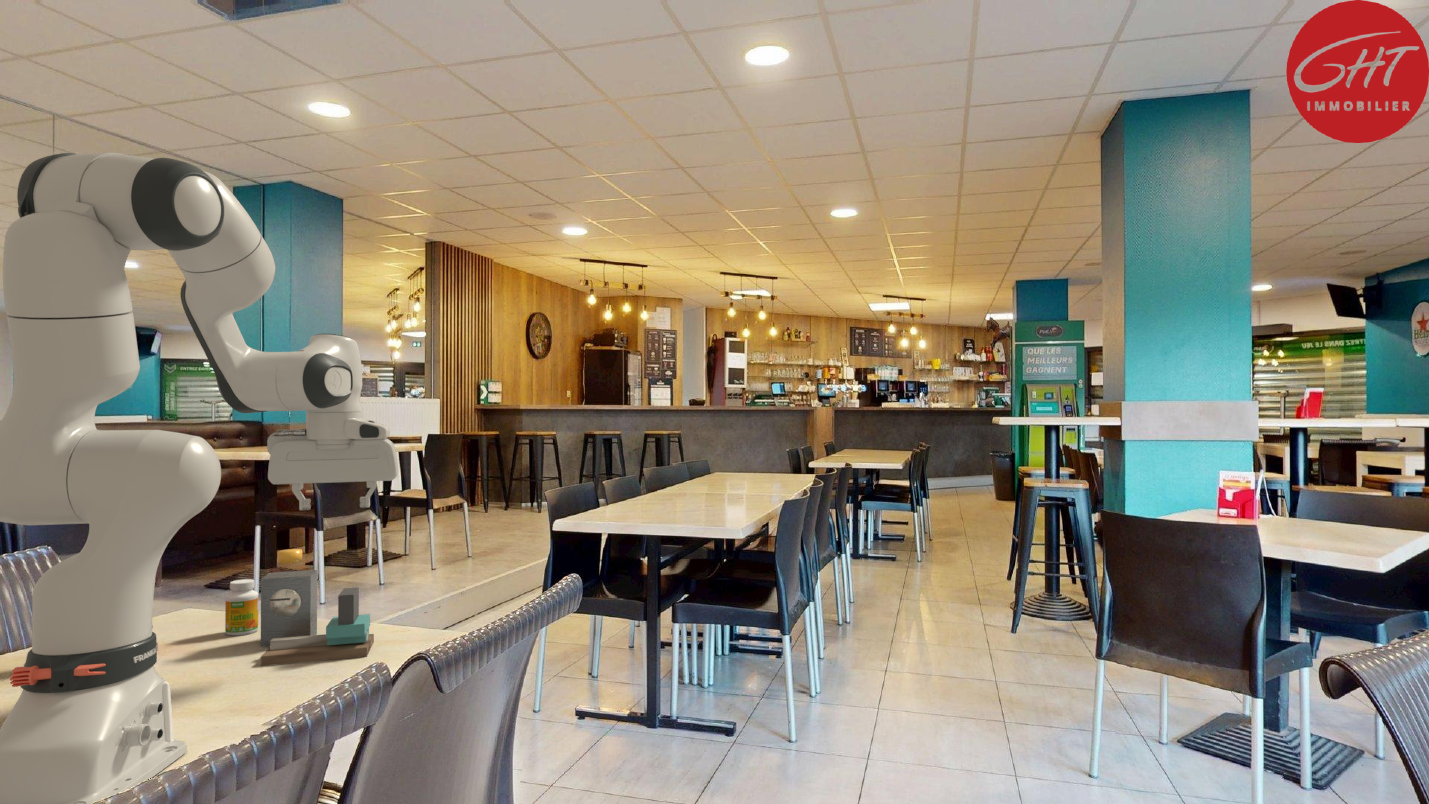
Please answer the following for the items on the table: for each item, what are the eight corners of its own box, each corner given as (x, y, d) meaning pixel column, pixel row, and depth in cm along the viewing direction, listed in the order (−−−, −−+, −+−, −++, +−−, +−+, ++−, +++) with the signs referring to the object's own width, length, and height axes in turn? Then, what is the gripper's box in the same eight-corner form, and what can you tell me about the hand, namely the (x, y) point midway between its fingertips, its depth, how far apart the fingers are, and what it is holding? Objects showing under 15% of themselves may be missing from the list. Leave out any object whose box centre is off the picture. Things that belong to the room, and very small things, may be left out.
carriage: (364, 644, 133) (364, 594, 133) (325, 647, 131) (326, 597, 131) (370, 633, 140) (370, 586, 140) (333, 636, 138) (333, 588, 138)
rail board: (366, 656, 132) (367, 638, 132) (260, 665, 127) (260, 647, 127) (373, 642, 141) (373, 625, 141) (274, 650, 136) (274, 633, 136)
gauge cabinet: (309, 643, 140) (309, 576, 141) (259, 647, 138) (260, 579, 138) (316, 633, 147) (317, 569, 147) (269, 637, 144) (269, 572, 144)
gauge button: (299, 562, 142) (299, 551, 142) (274, 564, 140) (275, 553, 140) (304, 559, 145) (304, 548, 145) (280, 560, 144) (280, 549, 144)
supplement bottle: (226, 638, 144) (226, 585, 145) (224, 631, 149) (224, 580, 149) (259, 633, 148) (260, 581, 148) (256, 627, 152) (256, 577, 152)
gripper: (262, 430, 129) (263, 513, 129) (395, 428, 135) (396, 508, 135) (271, 429, 135) (272, 508, 135) (398, 427, 141) (399, 503, 141)
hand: (335, 508), depth 135 cm, fingers open, 8 cm apart
